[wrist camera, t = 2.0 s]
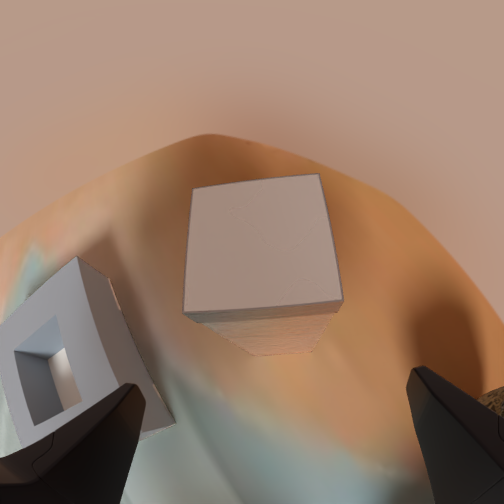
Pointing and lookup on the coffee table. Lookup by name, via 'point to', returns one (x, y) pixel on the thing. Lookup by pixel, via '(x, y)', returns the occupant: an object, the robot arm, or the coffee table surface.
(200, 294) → the metal bar
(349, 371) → the coffee table surface
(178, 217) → the coffee table surface
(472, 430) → the robot arm
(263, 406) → the coffee table surface
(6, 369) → the square well
